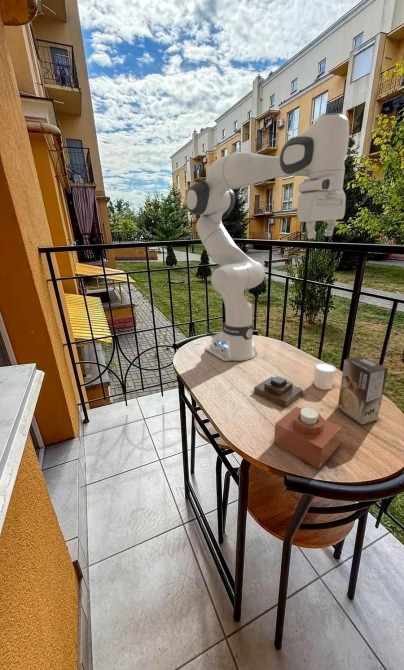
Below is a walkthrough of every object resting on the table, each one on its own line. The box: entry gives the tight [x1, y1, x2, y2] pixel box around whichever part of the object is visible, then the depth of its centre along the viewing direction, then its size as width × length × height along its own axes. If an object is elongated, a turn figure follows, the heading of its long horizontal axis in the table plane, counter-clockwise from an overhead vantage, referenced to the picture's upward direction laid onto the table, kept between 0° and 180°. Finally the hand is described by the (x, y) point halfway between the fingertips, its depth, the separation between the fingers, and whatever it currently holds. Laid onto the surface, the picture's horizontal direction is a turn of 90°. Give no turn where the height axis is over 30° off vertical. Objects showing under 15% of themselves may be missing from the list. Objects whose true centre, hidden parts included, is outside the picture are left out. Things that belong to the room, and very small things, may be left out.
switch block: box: [253, 376, 304, 408], centre depth 92 cm, size 12×10×4 cm
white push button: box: [300, 407, 319, 425], centre depth 68 cm, size 4×4×2 cm
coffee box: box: [337, 355, 389, 425], centre depth 79 cm, size 9×6×16 cm
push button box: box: [273, 406, 342, 470], centre depth 69 cm, size 12×10×8 cm
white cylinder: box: [313, 362, 337, 391], centre depth 95 cm, size 7×7×7 cm
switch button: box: [271, 375, 288, 388], centre depth 91 cm, size 4×4×2 cm
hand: (320, 237), depth 83 cm, fingers open, 8 cm apart
